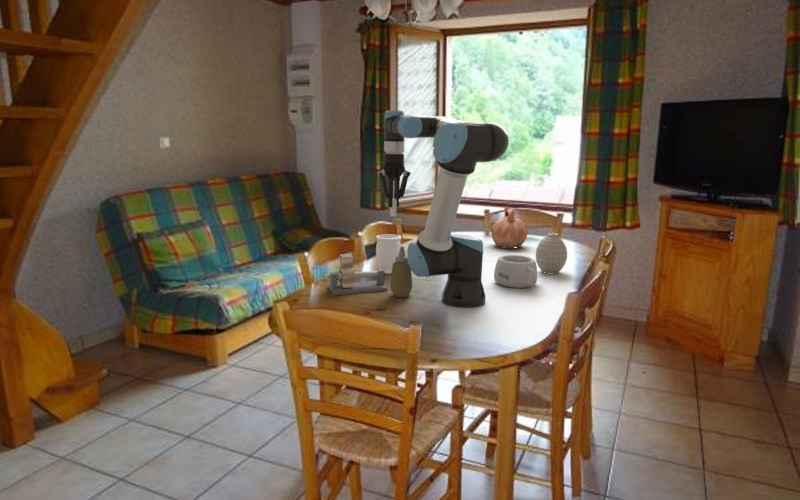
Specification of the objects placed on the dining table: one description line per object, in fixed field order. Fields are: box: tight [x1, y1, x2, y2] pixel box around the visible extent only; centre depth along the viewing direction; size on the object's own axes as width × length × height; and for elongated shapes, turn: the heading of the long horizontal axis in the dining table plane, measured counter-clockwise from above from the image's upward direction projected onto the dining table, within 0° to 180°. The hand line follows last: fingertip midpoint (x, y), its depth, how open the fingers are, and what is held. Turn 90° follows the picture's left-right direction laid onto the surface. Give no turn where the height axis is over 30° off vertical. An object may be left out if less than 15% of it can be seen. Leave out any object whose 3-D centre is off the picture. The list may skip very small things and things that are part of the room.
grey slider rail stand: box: [327, 268, 388, 296], centre depth 209 cm, size 10×20×7 cm, turn 109°
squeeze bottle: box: [389, 245, 413, 298], centre depth 201 cm, size 8×8×18 cm
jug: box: [490, 206, 529, 248], centre depth 286 cm, size 18×18×20 cm
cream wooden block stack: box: [338, 253, 355, 288], centre depth 207 cm, size 7×4×11 cm, turn 19°
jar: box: [375, 233, 402, 275], centre depth 233 cm, size 11×10×15 cm
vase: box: [535, 232, 568, 274], centre depth 238 cm, size 13×13×17 cm
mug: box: [493, 254, 538, 289], centre depth 218 cm, size 21×17×10 cm
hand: (393, 215), depth 215 cm, fingers closed
